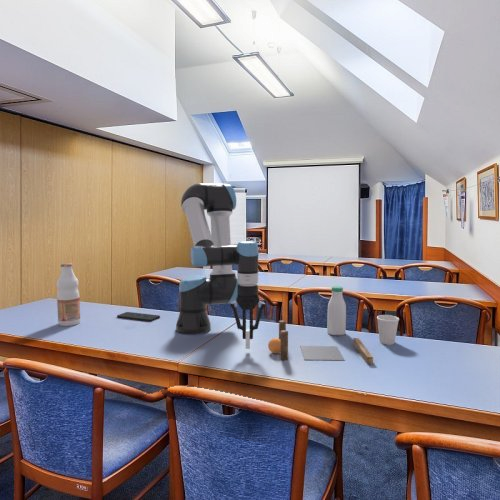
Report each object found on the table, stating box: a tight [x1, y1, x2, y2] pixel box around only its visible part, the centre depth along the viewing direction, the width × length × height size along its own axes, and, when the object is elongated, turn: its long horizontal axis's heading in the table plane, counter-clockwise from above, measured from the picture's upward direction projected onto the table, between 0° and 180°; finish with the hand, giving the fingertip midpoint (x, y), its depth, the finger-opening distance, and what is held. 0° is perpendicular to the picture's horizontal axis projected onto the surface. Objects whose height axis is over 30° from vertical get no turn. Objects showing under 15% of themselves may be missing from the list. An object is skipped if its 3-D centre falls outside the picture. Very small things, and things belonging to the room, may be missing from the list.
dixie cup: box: [376, 314, 400, 346], centre depth 155 cm, size 8×8×10 cm
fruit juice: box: [56, 262, 81, 327], centre depth 180 cm, size 9×9×28 cm
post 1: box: [278, 320, 287, 340], centre depth 150 cm, size 3×3×10 cm
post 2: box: [279, 329, 289, 361], centre depth 137 cm, size 3×3×10 cm
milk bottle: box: [326, 285, 347, 336], centre depth 166 cm, size 8×8×20 cm
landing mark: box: [299, 345, 346, 362], centre depth 144 cm, size 14×14×1 cm
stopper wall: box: [352, 337, 374, 365], centre depth 143 cm, size 2×20×2 cm, turn 178°
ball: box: [268, 337, 281, 354], centre depth 144 cm, size 6×6×6 cm
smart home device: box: [116, 311, 161, 323], centre depth 192 cm, size 8×2×20 cm
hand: (247, 347), depth 144 cm, fingers closed
